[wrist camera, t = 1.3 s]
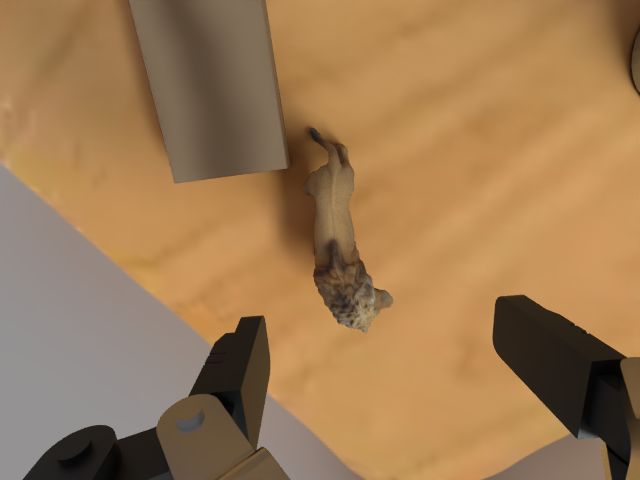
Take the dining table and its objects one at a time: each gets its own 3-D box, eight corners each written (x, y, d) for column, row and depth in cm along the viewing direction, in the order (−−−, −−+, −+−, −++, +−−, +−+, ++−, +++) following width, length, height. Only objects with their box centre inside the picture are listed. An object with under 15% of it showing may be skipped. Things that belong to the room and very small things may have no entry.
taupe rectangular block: (261, -27, 23) (249, -74, 18) (290, 166, 27) (286, 168, 22) (154, -12, 23) (114, -55, 18) (198, 178, 27) (174, 183, 22)
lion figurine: (377, 280, 30) (406, 331, 21) (323, 294, 30) (329, 351, 21) (340, 120, 26) (356, 103, 17) (278, 138, 26) (263, 129, 17)
